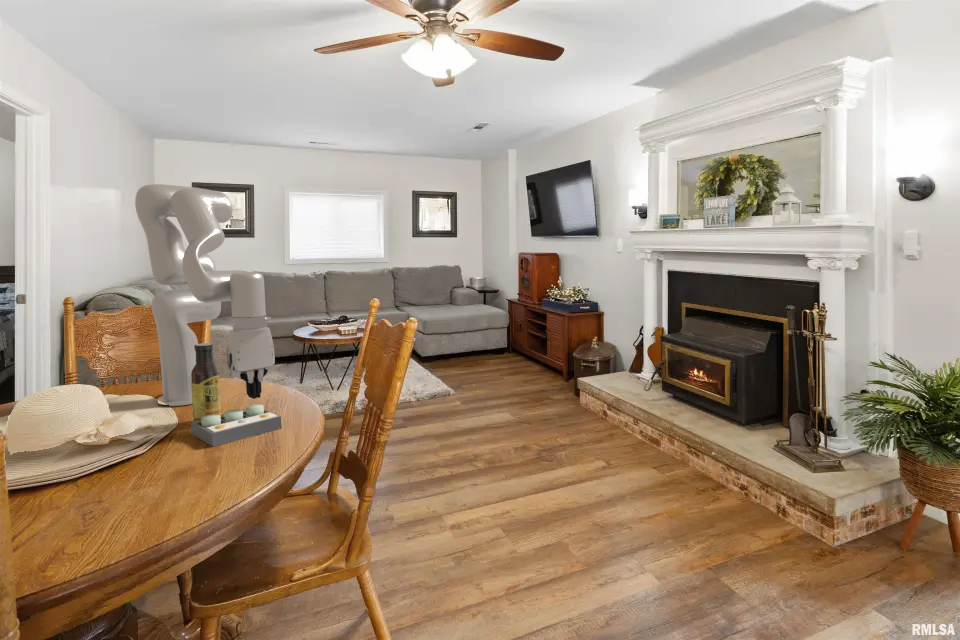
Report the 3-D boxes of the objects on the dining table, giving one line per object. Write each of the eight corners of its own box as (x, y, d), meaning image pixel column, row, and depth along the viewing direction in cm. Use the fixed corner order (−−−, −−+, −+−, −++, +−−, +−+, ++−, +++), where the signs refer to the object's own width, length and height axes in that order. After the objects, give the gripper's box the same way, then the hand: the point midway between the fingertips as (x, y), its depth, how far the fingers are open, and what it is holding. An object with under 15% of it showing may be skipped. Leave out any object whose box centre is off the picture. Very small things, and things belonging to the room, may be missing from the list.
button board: (191, 434, 124) (190, 420, 123) (258, 417, 136) (257, 405, 135) (213, 446, 116) (212, 432, 115) (281, 428, 128) (280, 414, 127)
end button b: (243, 418, 130) (243, 407, 130) (259, 415, 133) (258, 403, 133) (251, 422, 128) (250, 410, 127) (267, 418, 131) (266, 406, 130)
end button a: (199, 429, 122) (198, 417, 122) (217, 425, 125) (216, 413, 125) (206, 433, 120) (205, 421, 119) (224, 429, 123) (223, 416, 122)
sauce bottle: (209, 427, 128) (204, 347, 126) (187, 425, 130) (181, 346, 127) (227, 418, 135) (222, 342, 132) (206, 417, 136) (200, 341, 133)
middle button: (222, 424, 126) (221, 412, 126) (238, 420, 129) (238, 408, 129) (229, 428, 124) (228, 415, 123) (246, 423, 127) (245, 411, 126)
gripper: (271, 318, 135) (275, 388, 138) (211, 325, 124) (216, 401, 126) (286, 321, 130) (290, 393, 133) (224, 328, 119) (230, 407, 122)
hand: (254, 397), depth 130 cm, fingers closed
